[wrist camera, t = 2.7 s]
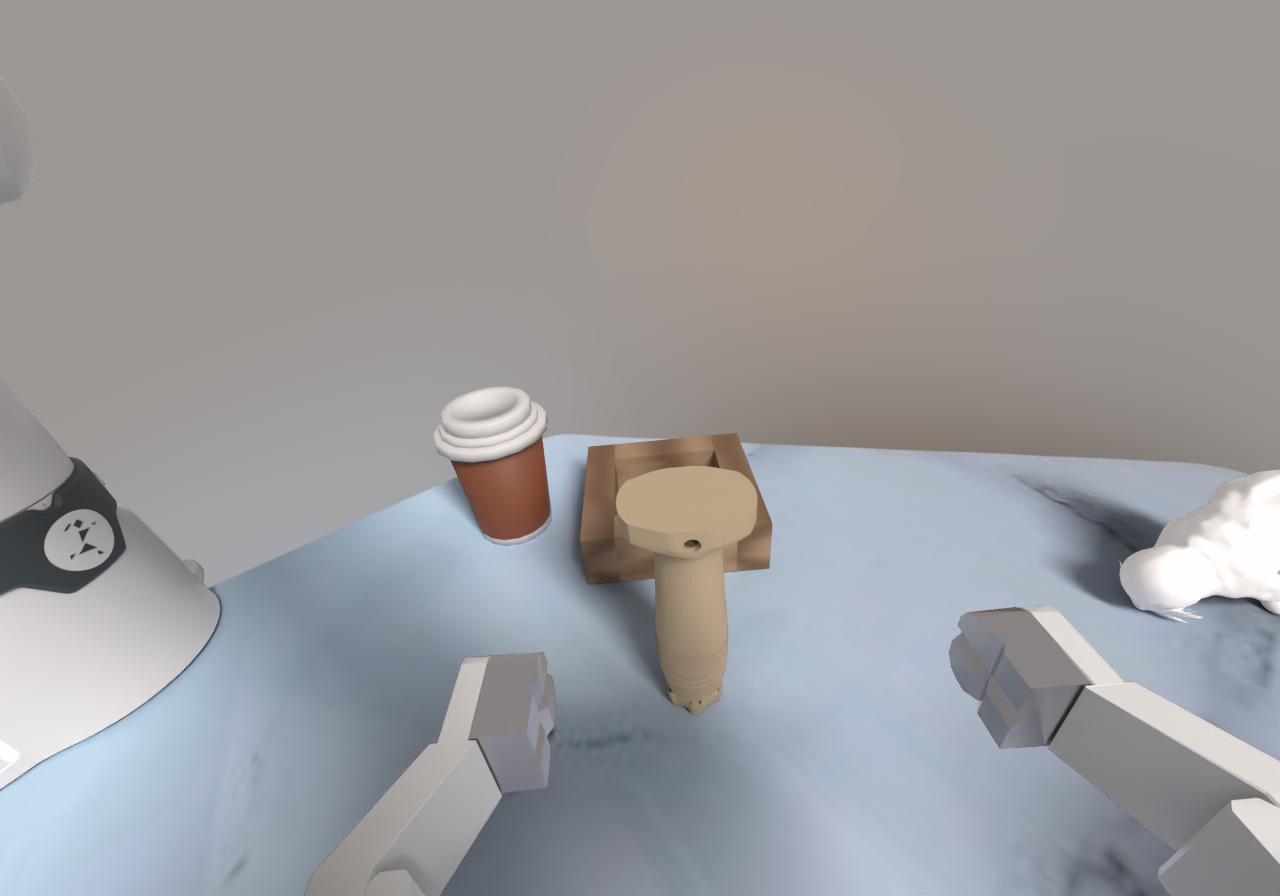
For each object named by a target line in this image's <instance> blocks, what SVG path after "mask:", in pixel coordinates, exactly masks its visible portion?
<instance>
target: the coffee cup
mask: <svg viewBox="0 0 1280 896" xmlns="http://www.w3.org/2000/svg"><path fill="white" fill-rule="evenodd" d="M440 418H441V423H440V424H438V426H437V428H436V430H435V432H434V434H433V436H432V438H433V440H434V443H435V446H436V448H437V451H438V454H440V455H442V456H444V457H446V458H448V459H450V460H451V462H452V465H453V467H454V469H455V471H456V474H457V476H458V478H459V480H460V483H461V485H462V487H463V489H464V492H465V494H466V496H467V498H468V501H469V503H470V505H471V507H472V510H473V512H474V514H475V516H476V519H477V521H478V523H479V525H480V528H481V531H482V533H483V536H484V538H485V539H487V540H488V541H490V542H491V543H493V544H498V545H505V546H508V545H515V544H521V543H524V542H526V541H529V540H531V539H534V538H535V537H537V536H538V535H539V534H541V533H542V532H543V531H545V530H546V528H547V527H548V525H549V524H550V522H551V516H552V511H551V507H550V499H549V490H548V482H547V474H546V465H545V457H544V449H543V441H542V434H543V433H544V432H545V431H546V430H547V420H548V419H547V415H546V412H545V411H544V410H543V409H542V408H541V407H540V405H539V404H537V403H534V402H531V400H530V397H529V396H528V395H527V394H526V393H525V392H524V391H522V390H519V389H516V388H513V387H491V388H483V389H479V390H476V391H472V392H468V393H466V394H464V395H462V396H459V397H457V398H455V399H454V400H452V401H451V402H450V403H448V404H447V405H446V406H445V407H444V408H443V410H442V412H441V414H440Z"/></svg>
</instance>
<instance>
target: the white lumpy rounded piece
mask: <svg viewBox="0 0 1280 896" xmlns="http://www.w3.org/2000/svg"><path fill="white" fill-rule="evenodd" d="M1120 566H1121V569H1120V580H1121V584H1122V586H1123V588H1124V590H1125V591H1126V593H1127V594H1128V595H1129V596H1130V598H1131V600H1132V603H1133V605H1134V606H1135V607H1136V608H1138V609H1139V610H1150V611H1154V612H1158V613H1162V614H1163V615H1166V616H1168V617H1171V618H1173V619H1176V620H1179V621H1182V620H1181V619H1178V618H1176V617H1174V616H1182V617H1192V618H1201V616H1195V615H1189V614H1191V613H1186V612H1187V611H1186V612H1184V611H1177V610H1184V609H1182V608H1184V607H1187V606H1190V605H1192V604H1194V603H1197V601H1199V600H1200V599H1201V598H1206V597H1209V596H1212V595H1219V596H1224V597H1228V598H1242V597H1251V598H1255V599H1257V600H1260V602H1261V604H1262V605H1263V606H1264V607H1265V608H1266V609H1267V610H1268V611H1270V612H1272V613H1274V614H1278V615H1280V470H1272V471H1265V472H1257V473H1254V474H1251V475H1249V476H1246V477H1244V478H1240V479H1235V480H1230V481H1227V482H1225V483H1223V484H1222V485H1220V486H1219V487H1218V488H1217V489H1216V490H1215V491H1214V492H1213V493H1212V494H1211V495H1210V500H1209V504H1207V505H1204V506H1202V507H1200V508H1199V509H1196V510H1194V511H1192V512H1191V513H1189V514H1188V515H1187V516H1185V517H1182V518H1177V519H1174V520H1172V521H1170V522H1169V523H1168V524H1167V525H1166V526H1165V527H1164V529H1163V530H1162V532H1161V534H1160V536H1159V538H1158V540H1157V542H1156V544H1155V546H1154V547H1153V548H1149V549H1144V550H1141V551H1138V552H1136V553H1134V554H1132V555H1131V556H1129V557H1128V558H1127V559H1126V560H1125V561H1124V563H1123V564H1122V563H1121V561H1120ZM1191 612H1193V611H1191ZM1172 615H1174V616H1172ZM1182 622H1184V621H1182Z"/></svg>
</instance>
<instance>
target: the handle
mask: <svg viewBox="0 0 1280 896" xmlns="http://www.w3.org/2000/svg"><path fill="white" fill-rule="evenodd" d="M616 509H617V516H618V522H619V527H620V529H621V532H622V534H623V536H624V537H625V538H626V540H627V541H628V542H629V543H631V544H632V545H635V546H638V547H640V548H643V549H646V550H649V551H653V552H654V558H655V602H656V639H657V648H658V654H659V659H660V664H661V667H662V671H663V674H664V677H665V679H666V682H667V684H668V686H669V688H668V694H669V697H670V699H671V701H672V702H673V704H675V705H681V706H684V707H686V708H688V709H689V710H690V711H691V713H693V714H699V713H702V712H703V710H704V709H705V707H706V706H708V705H709V704H711V703H713V702H717V701H718V700H719V698H720V695H721V691H722V684H721V682H722V679H723V675H724V671H725V666H726V660H727V651H728V623H727V611H726V600H725V588H724V572H723V554H722V550H723V548H726V547H728V546H730V545H732V544H734V543H736V542H738V541H739V540H741V539H743V538H745V537H746V536H748V535H750V533H751V532H752V530H753V528H754V526H755V523H756V517H757V493H756V490H755V488H754V486H753V484H752V483H751V482H750V480H749V479H748V478H747V477H745V476H744V475H743V474H741V473H739V472H738V471H732V470H727V469H721V468H715V467H708V466H686V467H674V468H666V469H660V470H656V471H652V472H649V473H647V474H644V475H641V476H638V477H636V478H633V479H630V480H627V481H626V482H625V483H624V484H623V485H622V487H621V488H620V489H619V491H618V494H617V498H616Z"/></svg>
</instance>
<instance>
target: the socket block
mask: <svg viewBox="0 0 1280 896" xmlns="http://www.w3.org/2000/svg"><path fill="white" fill-rule="evenodd" d="M686 466H708V467H715V468H721V469H727V470H732V471H738V472H739V473H741V474H743V475H744V476H745V477H747V478H748V479H749V480H750V482H751V483H752V484H753V486H754V488H755V490H756V493H757V517H756V523H755V526H754V528H753V530H752V532H751V533H750V535H748V536H746V537H745V538H743V539H741V540H739V541H738V542H736V543H734V544H732V545H730V546H728V547H726V548H723V550H722V554H723V572H733V571H745V570H756V569H767V568H769V564H770V550H771V535H772V521H771V519H770V516H769V514H768V511H767V509H766V506H765V504H764V501H763V499H762V496H761V494H760V491H759V489H758V486H757V484H756V481H755V478H754V476H753V473H752V471H751V468H750V466H749V463H748V461H747V458H746V456H745V453H744V451H743V448H742V446H741V443H740V441H739V438H738V436H737V434H736V433H735V434H723V435H713V436H703V437H691V438H680V439H669V440H658V441H647V442H636V443H625V444H614V445H603V446H592V447H588V458H587V469H586V479H585V490H584V501H583V512H582V523H581V533H580V544H581V549H582V554H583V560H584V565H585V570H586V575H587V580H588V584H597V583H608V582H620V581H631V580H642V579H654V578H655V558H654V552H653V551H649V550H646V549H643V548H640V547H638V546H635V545H632V544H631V543H629V542H628V541H627V540H626V538H625V537H624V536H623V534H622V532H621V529H620V527H619V522H618V516H617V509H616V498H617V494H618V491H619V489H620V488H621V487H622V485H623V484H624V483H625V482H626V481H627V480H630V479H633V478H636V477H638V476H641V475H644V474H647V473H649V472H652V471H656V470H660V469H666V468H674V467H686Z"/></svg>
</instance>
